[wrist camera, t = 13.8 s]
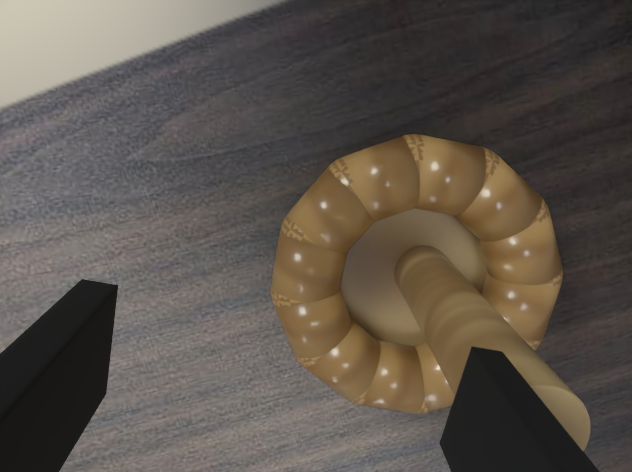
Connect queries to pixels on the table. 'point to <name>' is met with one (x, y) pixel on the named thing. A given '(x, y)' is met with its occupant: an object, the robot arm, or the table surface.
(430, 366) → the ring
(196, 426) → the table surface
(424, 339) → the stand
